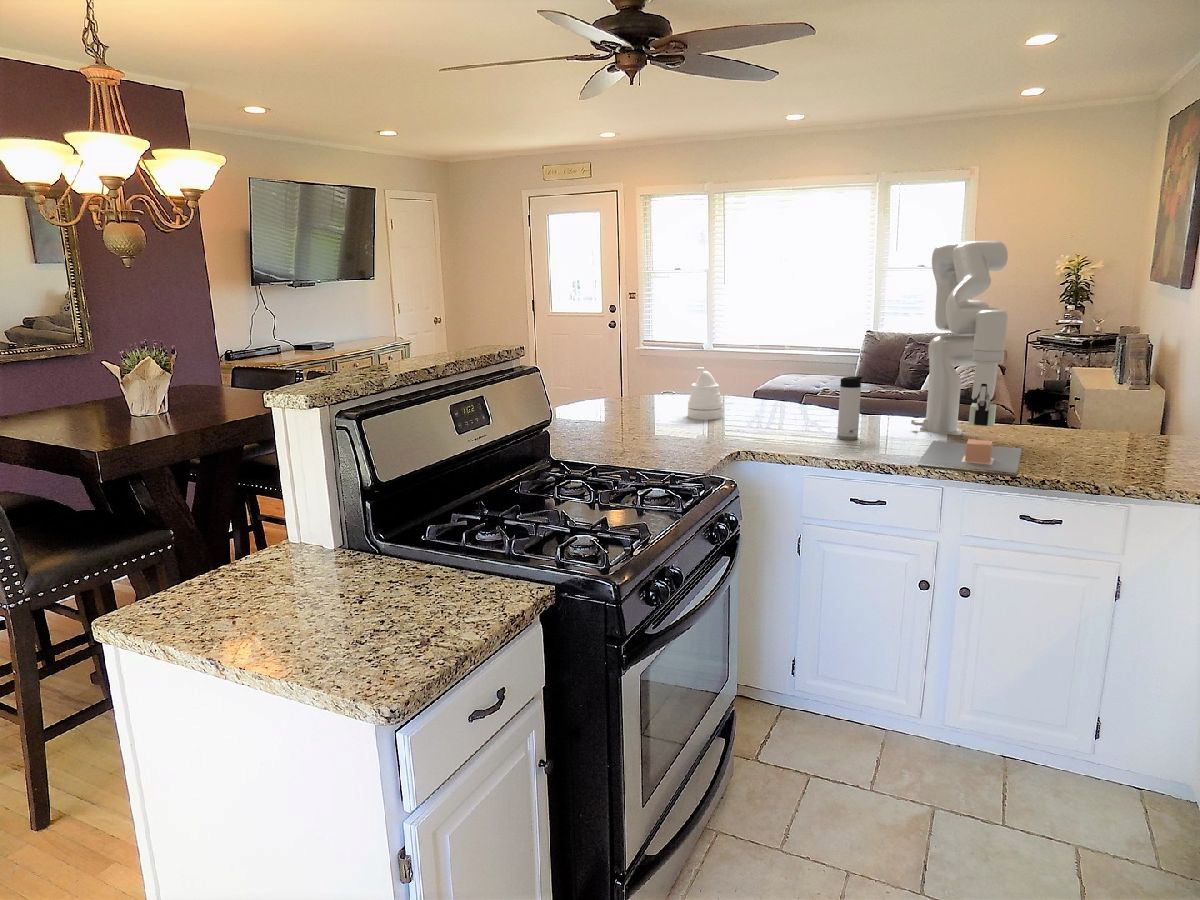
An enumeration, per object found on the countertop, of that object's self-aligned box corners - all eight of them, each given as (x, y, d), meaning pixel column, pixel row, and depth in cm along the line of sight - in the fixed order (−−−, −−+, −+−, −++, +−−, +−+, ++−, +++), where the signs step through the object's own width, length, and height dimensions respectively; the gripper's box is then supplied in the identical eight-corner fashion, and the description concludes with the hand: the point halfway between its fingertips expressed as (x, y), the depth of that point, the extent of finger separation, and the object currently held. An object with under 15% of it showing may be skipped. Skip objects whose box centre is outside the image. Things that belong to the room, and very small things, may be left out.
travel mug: (855, 441, 247) (859, 377, 242) (834, 439, 250) (838, 376, 246) (861, 437, 252) (864, 375, 247) (840, 435, 255) (843, 374, 251)
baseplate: (917, 466, 215) (918, 462, 215) (932, 444, 241) (933, 440, 240) (1016, 477, 204) (1016, 472, 203) (1021, 452, 229) (1021, 448, 229)
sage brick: (968, 424, 213) (970, 406, 212) (970, 420, 218) (972, 403, 217) (993, 426, 210) (994, 408, 209) (994, 422, 215) (996, 404, 214)
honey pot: (686, 419, 285) (687, 370, 281) (688, 412, 298) (689, 365, 293) (722, 419, 283) (723, 370, 279) (723, 413, 296) (724, 365, 291)
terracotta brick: (964, 461, 216) (966, 443, 214) (967, 456, 221) (968, 439, 220) (989, 463, 213) (991, 445, 212) (990, 458, 218) (992, 441, 217)
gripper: (975, 353, 219) (969, 416, 223) (969, 359, 205) (963, 427, 209) (1005, 354, 216) (999, 418, 220) (1001, 360, 201) (994, 429, 205)
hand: (981, 422), depth 214 cm, fingers closed on sage brick, 5 cm apart
